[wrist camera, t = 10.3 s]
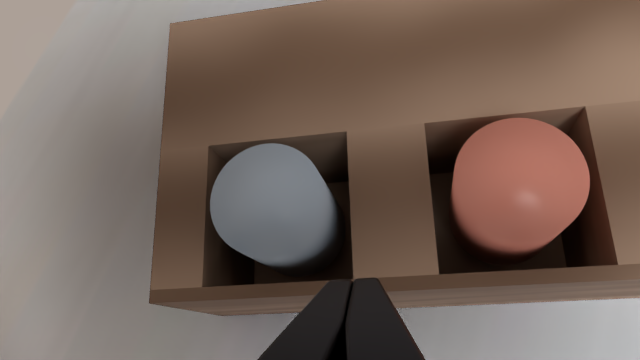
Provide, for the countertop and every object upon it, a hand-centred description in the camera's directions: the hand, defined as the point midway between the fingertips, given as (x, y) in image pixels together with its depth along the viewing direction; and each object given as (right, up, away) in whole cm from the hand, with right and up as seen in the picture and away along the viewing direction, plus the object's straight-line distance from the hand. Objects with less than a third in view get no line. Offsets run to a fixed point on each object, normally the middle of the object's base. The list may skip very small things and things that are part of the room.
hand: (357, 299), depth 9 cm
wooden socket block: (+6, +2, +12) cm, 14 cm away
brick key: (+5, +1, +9) cm, 10 cm away
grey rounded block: (-1, 0, +10) cm, 10 cm away
